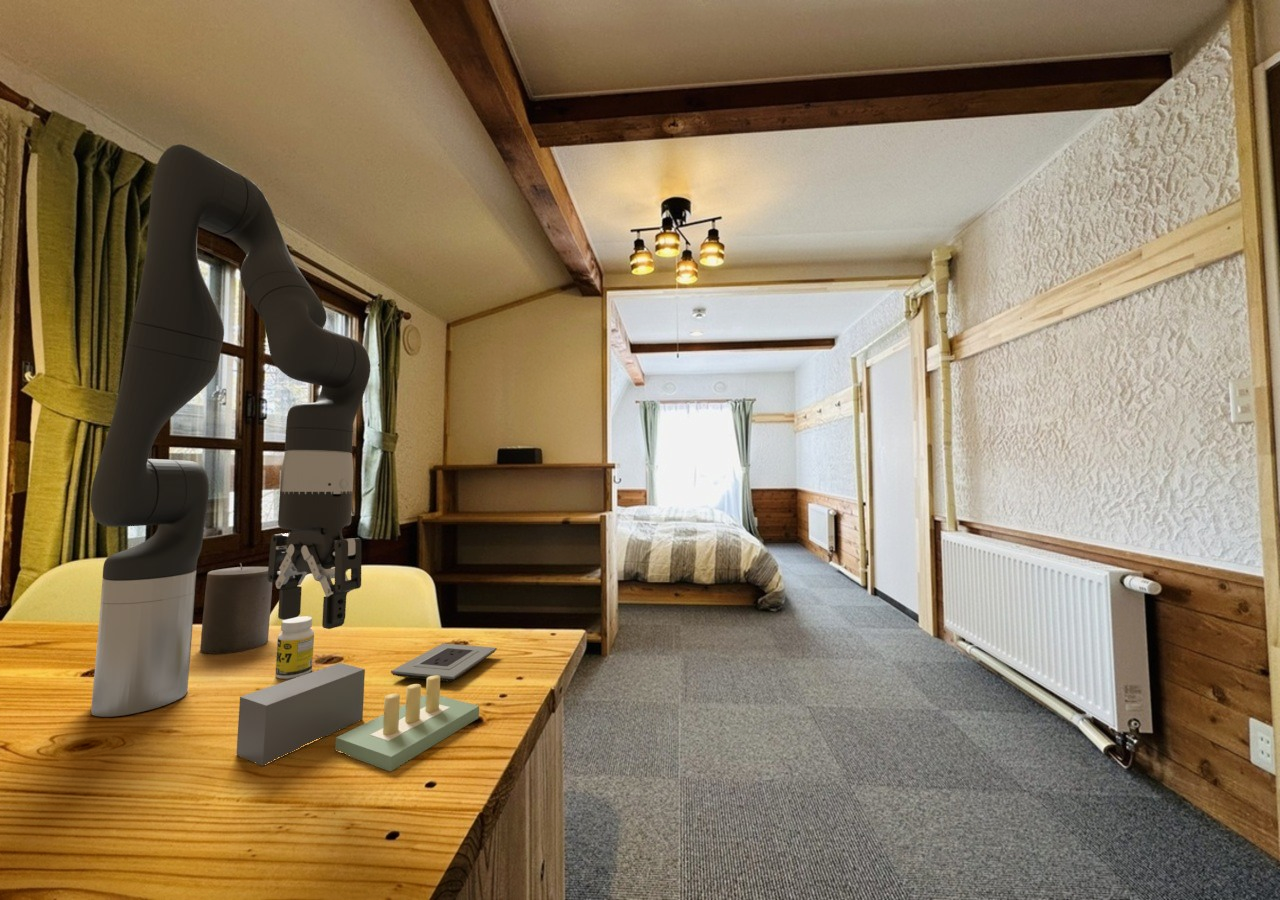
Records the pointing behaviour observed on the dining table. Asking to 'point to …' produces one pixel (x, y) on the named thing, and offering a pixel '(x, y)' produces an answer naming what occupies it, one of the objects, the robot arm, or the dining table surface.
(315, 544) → the robot arm
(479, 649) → the electrical outlet
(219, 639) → the pillar candle
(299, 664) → the supplement bottle
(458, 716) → the header board
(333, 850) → the dining table surface
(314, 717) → the block
